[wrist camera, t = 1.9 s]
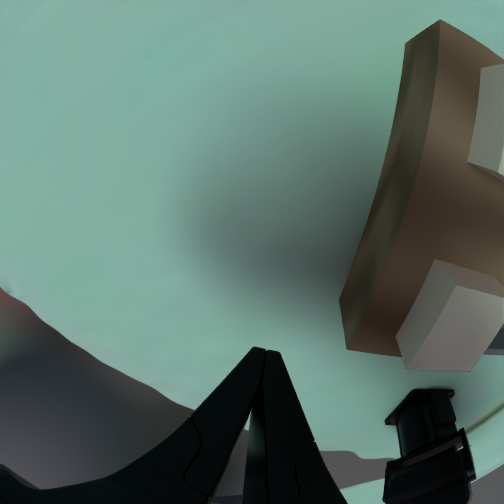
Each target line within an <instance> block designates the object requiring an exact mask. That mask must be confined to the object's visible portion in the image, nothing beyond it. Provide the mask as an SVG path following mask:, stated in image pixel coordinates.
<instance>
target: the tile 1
mask: <svg viewBox="0 0 504 504" xmlns="http://www.w3.org/2000/svg"><path fill="white" fill-rule="evenodd" d="M503 323H504V287H503V286H502V285H501V283H500V282H499V281H498V280H497V279H496V278H495V277H492V276H489V275H486V274H483V273H480V272H477V271H474V270H470V269H467V268H464V267H461V266H457V265H454V264H451V263H447V262H444V261H441V260H437V259H434V262H433V264H432V266H431V269H430V271H429V273H428V275H427V277H426V279H425V282H424V284H423V286H422V288H421V290H420V292H419V294H418V296H417V298H416V300H415V302H414V304H413V306H412V308H411V310H410V311H409V313H408V315H407V317H406V319H405V321H404V322H403V324H402V326H401V328H400V329H399V331H398V333H397V335H396V336H395V337H396V340H397V343H398V346H399V349H400V352H401V355H402V358H403V361H404V365H405V368H406V369H418V370H433V371H456V372H470V370H471V369H472V368H473V367H474V365H475V364H476V363H477V361H478V360H479V359H480V357H481V356H482V355H483V353H484V352H485V350H486V349H487V348H488V346H489V345H490V343H491V342H492V340H493V339H494V337H495V336H496V334H497V333H498V331H499V330H500V328H501V327H502V325H503Z"/></svg>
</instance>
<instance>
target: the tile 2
mask: <svg viewBox="0 0 504 504" xmlns="http://www.w3.org/2000/svg"><path fill="white" fill-rule="evenodd" d="M467 162H469V163H470V164H472V165H474V166H476V167H478V168H480V169H482V170H483V171H485V172H487V173H489V174H491V175H492V176H494V177H496V178H497V179H499V180H501V181H502V182H504V64H499V65H494V66H488V67H483V68H481V75H480V88H479V98H478V106H477V113H476V120H475V126H474V131H473V137H472V142H471V147H470V151H469V156H468V160H467Z"/></svg>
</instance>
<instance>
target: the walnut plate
mask: <svg viewBox="0 0 504 504" xmlns="http://www.w3.org/2000/svg"><path fill="white" fill-rule="evenodd" d="M499 64H504V60H503V59H502V58H501V57H500V56H498V55H497V54H495V53H494V52H493V51H491V50H490V49H488V48H487V47H486V46H484V45H483V44H481V43H480V42H478V41H477V40H475V39H473V38H472V37H470V36H469V35H467V34H465V33H464V32H462V31H460V30H459V29H457V28H455V27H453V26H452V25H450V24H448V23H446V22H444V21H442V20H438V21H437V22H435V23H434V24H432V25H431V26H429V27H428V28H426V29H425V30H423V31H422V32H420V33H419V34H418V35H416V36H415V37H413V38H412V39H411V40H409V41H408V42H406V43H405V53H404V61H403V68H402V75H401V82H400V88H399V94H398V100H397V105H396V111H395V116H394V121H393V126H392V130H391V135H390V140H389V144H388V148H387V152H386V157H385V161H384V165H383V168H382V172H381V176H380V180H379V183H378V187H377V191H376V194H375V198H374V201H373V204H372V208H371V211H370V214H369V217H368V221H367V224H366V227H365V230H364V233H363V236H362V239H361V242H360V245H359V248H358V251H357V254H356V256H355V259H354V262H353V265H352V268H351V270H350V273H349V276H348V278H347V281H346V284H345V286H344V289H343V291H342V294H341V296H340V299H339V303H340V309H341V315H342V321H343V328H344V334H345V341H346V348H347V350H353V351H360V352H366V353H374V354H381V355H389V356H398V357H402V355H401V352H400V349H399V346H398V343H397V340H396V337H395V336H396V335H397V333H398V331H399V329H400V328H401V326H402V324H403V322H404V321H405V319H406V317H407V315H408V313H409V311H410V310H411V308H412V306H413V304H414V302H415V300H416V298H417V296H418V294H419V292H420V290H421V288H422V286H423V284H424V282H425V279H426V277H427V275H428V273H429V271H430V269H431V266H432V264H433V262H434V259H437V260H441V261H444V262H447V263H451V264H454V265H457V266H461V267H464V268H467V269H470V270H474V271H477V272H480V273H483V274H486V275H489V276H492V277H495V278H496V279H497V280H498V281H499V282H500V283H501V285H502V286H503V287H504V182H502V181H501V180H499V179H497V178H496V177H494V176H492V175H491V174H489V173H487V172H485V171H483V170H482V169H480V168H478V167H476V166H474V165H472V164H470V163H469V162H467V160H468V156H469V151H470V147H471V142H472V137H473V131H474V126H475V120H476V113H477V106H478V98H479V88H480V75H481V68H483V67H488V66H494V65H499Z"/></svg>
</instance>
